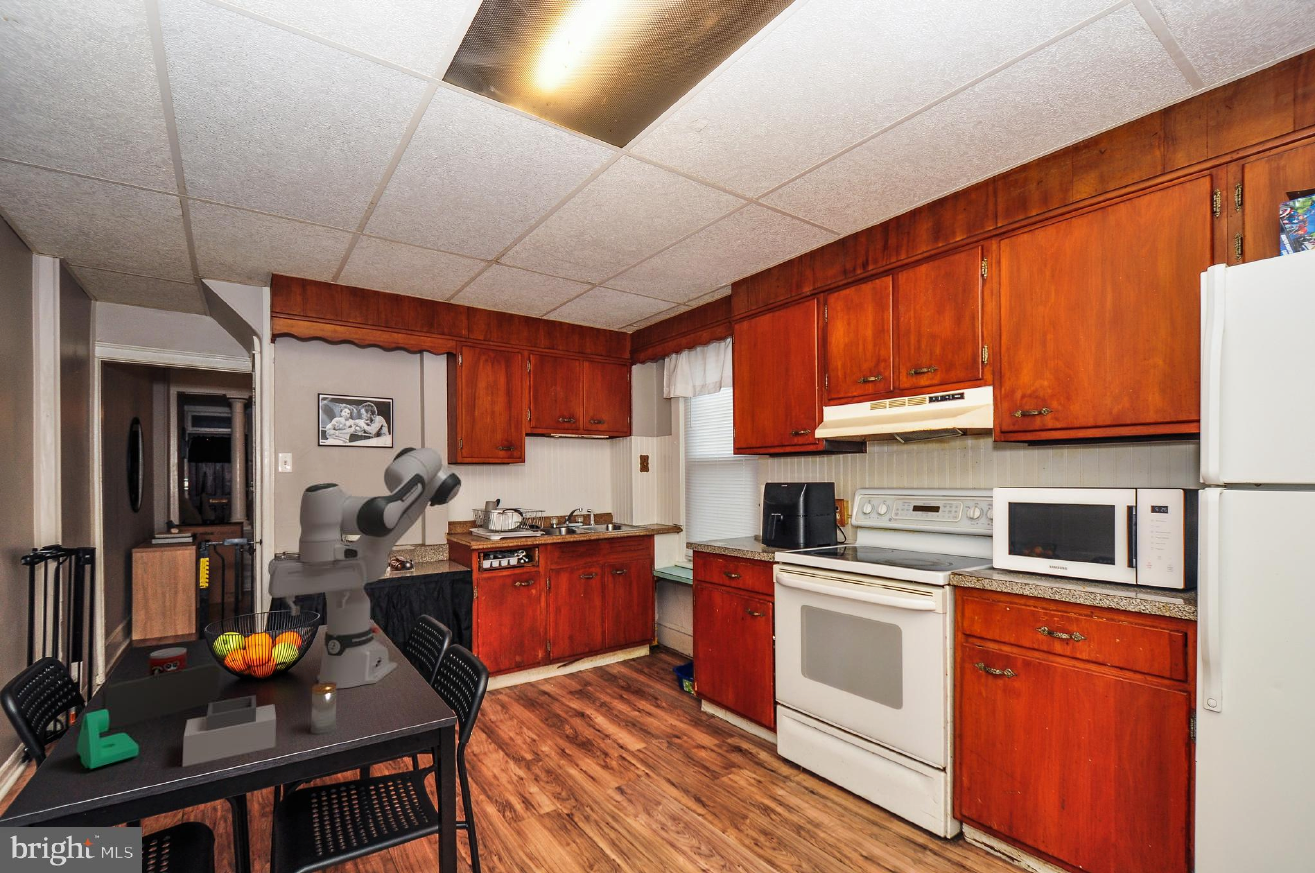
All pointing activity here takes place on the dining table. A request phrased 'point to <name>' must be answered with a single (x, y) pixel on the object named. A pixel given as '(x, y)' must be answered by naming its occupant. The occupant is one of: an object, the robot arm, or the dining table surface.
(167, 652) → the canned food
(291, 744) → the dining table surface
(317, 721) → the glass jar
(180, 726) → the dining table surface
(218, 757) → the grey pedestal block
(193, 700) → the handheld gaming console
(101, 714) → the camera mount
